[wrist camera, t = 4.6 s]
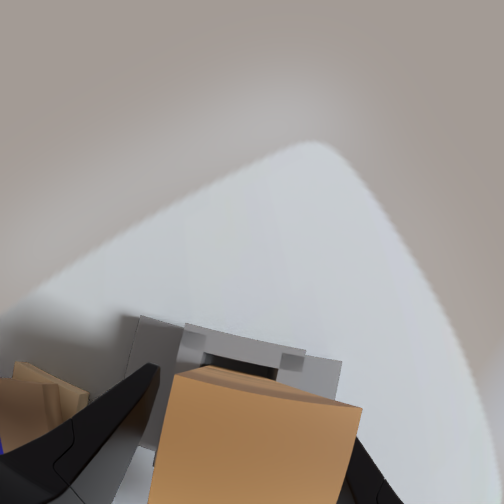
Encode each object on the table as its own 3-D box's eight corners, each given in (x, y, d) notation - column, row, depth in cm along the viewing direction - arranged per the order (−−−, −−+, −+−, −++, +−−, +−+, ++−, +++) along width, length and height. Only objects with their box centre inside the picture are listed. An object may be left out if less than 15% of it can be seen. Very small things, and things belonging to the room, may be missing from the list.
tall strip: (242, 446, 13) (290, 605, 2) (194, 436, 13) (135, 584, 2) (259, 375, 15) (361, 408, 4) (211, 364, 15) (175, 375, 4)
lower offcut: (80, 471, 13) (67, 480, 11) (21, 439, 13) (5, 443, 11) (93, 392, 15) (79, 394, 13) (31, 362, 15) (15, 361, 13)
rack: (307, 471, 14) (332, 499, 10) (120, 430, 14) (90, 448, 10) (332, 361, 17) (366, 359, 13) (147, 319, 17) (123, 304, 12)
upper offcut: (70, 461, 12) (56, 469, 10) (20, 450, 11) (4, 455, 10) (58, 383, 13) (42, 384, 12) (9, 378, 13) (-8, 377, 11)
